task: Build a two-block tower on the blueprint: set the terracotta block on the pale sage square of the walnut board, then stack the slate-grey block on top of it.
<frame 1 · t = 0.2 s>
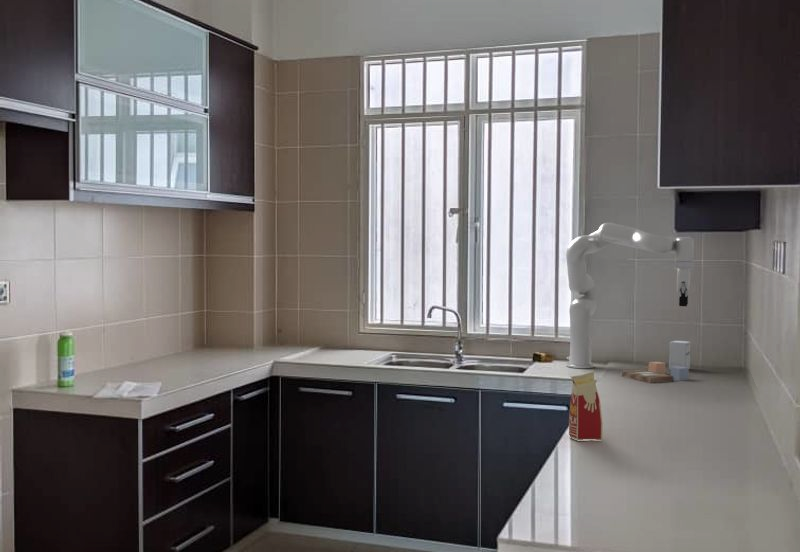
hand: (683, 305, 351), 30 cm above the worktop, tool pointing down, fingers open, 9 cm apart
milk carton: (584, 438, 240), on the worktop
terracotta block: (656, 374, 355), on the worktop
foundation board: (647, 378, 343), on the worktop
slate block: (679, 379, 342), on the worktop
supplement box: (679, 369, 367), on the worktop
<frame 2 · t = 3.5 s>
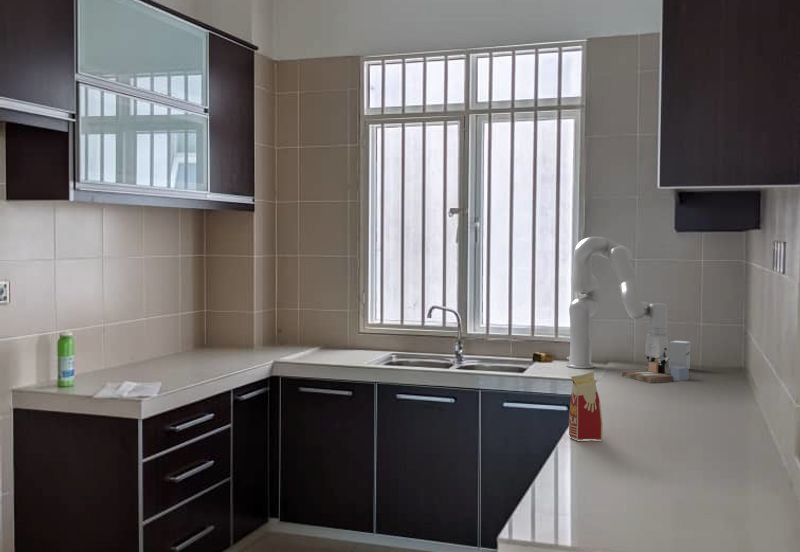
hand: (656, 372, 355), 0 cm above the worktop, tool pointing down, fingers closed on terracotta block, 5 cm apart
terracotta block: (656, 373, 355), on the worktop, touching gripper
everything else where it was.
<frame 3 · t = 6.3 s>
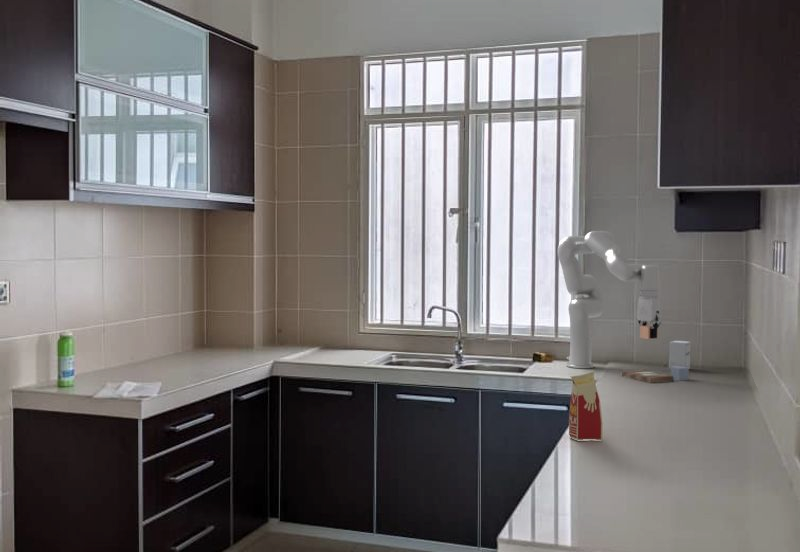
hand: (648, 336, 343), 18 cm above the worktop, tool pointing down, fingers closed on terracotta block, 5 cm apart
terracotta block: (648, 338, 343), point 17 cm above the worktop, touching gripper
everything else where it was.
when the fingers open (4 cm above the worktop, at t = 9.4 s): terracotta block drops 1 cm, resting on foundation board.
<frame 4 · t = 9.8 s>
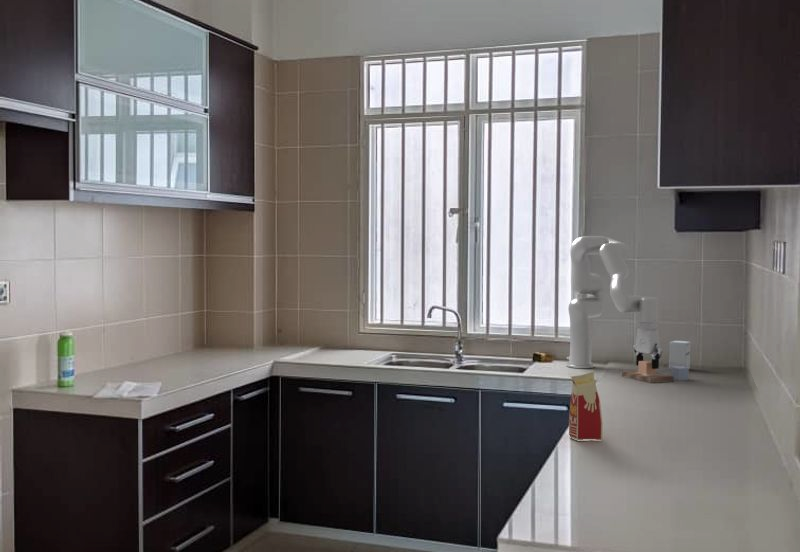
hand: (647, 366, 343), 5 cm above the worktop, tool pointing down, fingers open, 9 cm apart
terracotta block: (646, 373, 343), point 2 cm above the worktop, touching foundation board
everything else where it was.
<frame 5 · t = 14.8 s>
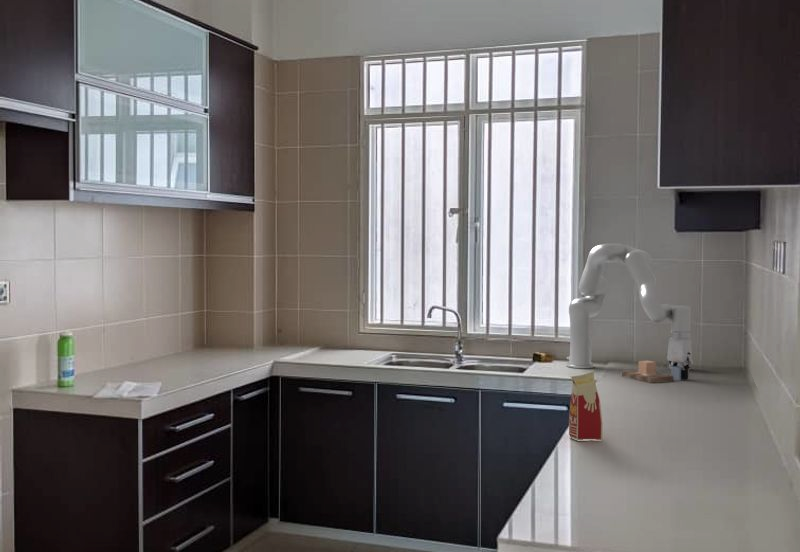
hand: (679, 377, 342), 1 cm above the worktop, tool pointing down, fingers closed on slate block, 5 cm apart
slate block: (679, 379, 342), on the worktop, touching gripper
everything else where it was.
when the fingers open (9 cm above the worktop, at t = 20.2 s): slate block drops 1 cm, resting on terracotta block.
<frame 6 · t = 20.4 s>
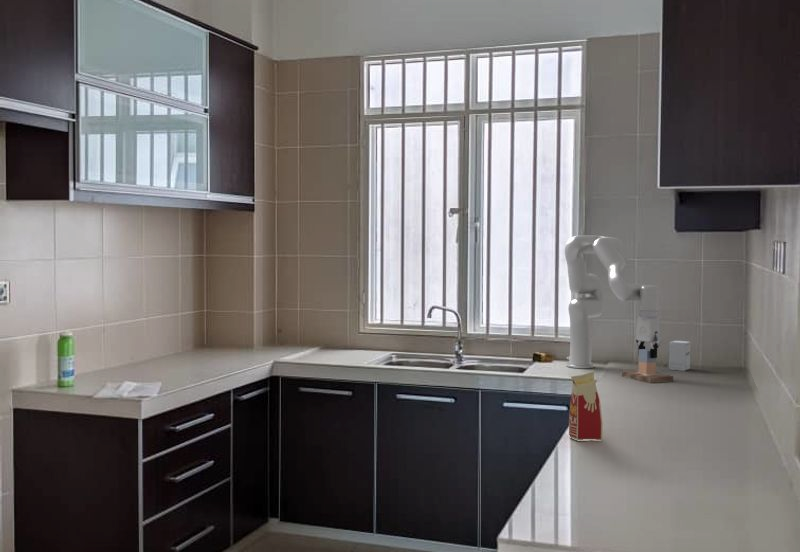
hand: (647, 356, 342), 9 cm above the worktop, tool pointing down, fingers open, 6 cm apart
terracotta block: (646, 373, 343), point 2 cm above the worktop, touching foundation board, slate block
slate block: (647, 361, 343), point 7 cm above the worktop, touching terracotta block
everything else where it was.
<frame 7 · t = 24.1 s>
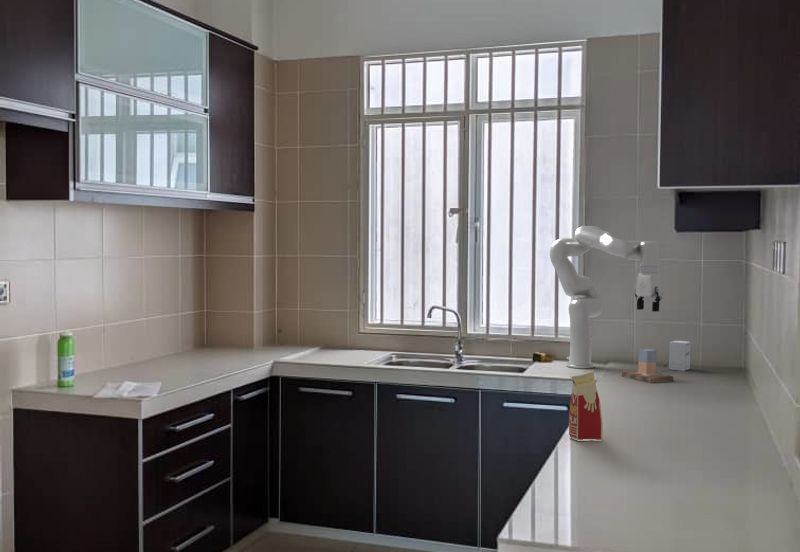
hand: (647, 310, 346), 28 cm above the worktop, tool pointing down, fingers open, 9 cm apart
nothing on the worktop moved.
at the end: terracotta block inside the target area on the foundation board (0.1 cm from its centre), point 2.1 cm above the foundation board's base; slate block 0.1 cm off-centre on the terracotta block, point 5.0 cm above the terracotta block's base; slate block tilted 0° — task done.
